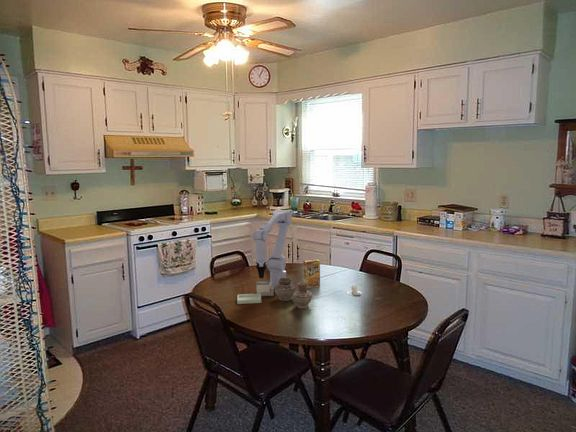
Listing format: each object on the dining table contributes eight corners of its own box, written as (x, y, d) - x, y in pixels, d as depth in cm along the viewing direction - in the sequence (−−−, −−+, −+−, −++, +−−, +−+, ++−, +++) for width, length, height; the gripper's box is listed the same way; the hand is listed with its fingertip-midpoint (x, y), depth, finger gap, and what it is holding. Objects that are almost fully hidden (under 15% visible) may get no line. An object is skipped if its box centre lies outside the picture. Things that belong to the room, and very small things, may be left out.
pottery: (300, 312, 205) (300, 288, 203) (270, 298, 224) (269, 276, 222) (318, 306, 212) (318, 283, 210) (286, 294, 231) (286, 272, 229)
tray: (260, 296, 227) (260, 293, 227) (261, 302, 218) (261, 299, 218) (237, 297, 226) (237, 294, 226) (237, 303, 217) (237, 300, 217)
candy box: (306, 288, 240) (306, 262, 238) (303, 286, 244) (303, 260, 242) (320, 286, 243) (320, 260, 241) (317, 284, 247) (317, 258, 245)
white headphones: (361, 297, 226) (361, 289, 225) (346, 296, 228) (346, 288, 227) (362, 291, 235) (362, 284, 234) (347, 290, 236) (347, 283, 236)
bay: (273, 291, 235) (272, 284, 235) (273, 295, 229) (273, 288, 228) (256, 292, 234) (256, 285, 234) (256, 296, 228) (256, 289, 227)
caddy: (269, 292, 234) (269, 281, 233) (269, 295, 230) (269, 283, 229) (255, 293, 233) (255, 281, 232) (255, 295, 229) (255, 283, 228)
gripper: (253, 248, 235) (254, 272, 237) (253, 255, 221) (253, 280, 223) (266, 248, 236) (266, 272, 238) (266, 254, 222) (267, 279, 223)
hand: (261, 276), depth 230 cm, fingers open, 7 cm apart
